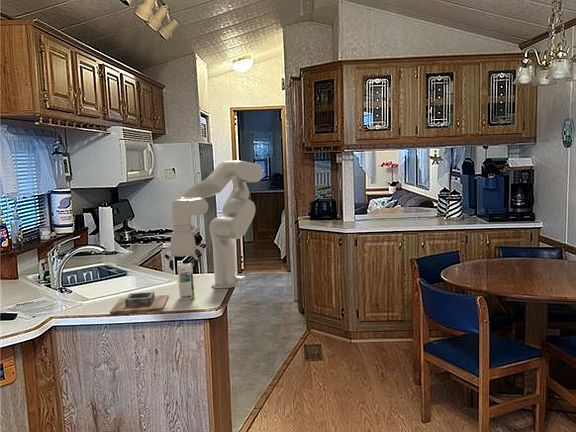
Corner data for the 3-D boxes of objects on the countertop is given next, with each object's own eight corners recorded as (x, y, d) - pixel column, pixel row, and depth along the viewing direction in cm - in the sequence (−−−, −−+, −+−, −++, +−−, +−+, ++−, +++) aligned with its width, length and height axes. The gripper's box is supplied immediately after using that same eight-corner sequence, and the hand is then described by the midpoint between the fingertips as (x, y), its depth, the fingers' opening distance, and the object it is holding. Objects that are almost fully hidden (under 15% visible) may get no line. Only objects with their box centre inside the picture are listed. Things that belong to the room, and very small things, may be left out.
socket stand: (168, 297, 223) (168, 288, 223) (162, 310, 203) (162, 300, 203) (120, 301, 221) (119, 291, 220) (110, 314, 201) (109, 304, 201)
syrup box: (180, 300, 217) (178, 266, 216) (179, 297, 223) (177, 263, 221) (194, 299, 219) (192, 265, 217) (193, 295, 224) (191, 262, 223)
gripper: (203, 227, 222) (205, 266, 224) (162, 228, 220) (164, 268, 222) (202, 229, 215) (204, 270, 216) (159, 230, 213) (161, 272, 214)
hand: (184, 269), depth 219 cm, fingers open, 9 cm apart
